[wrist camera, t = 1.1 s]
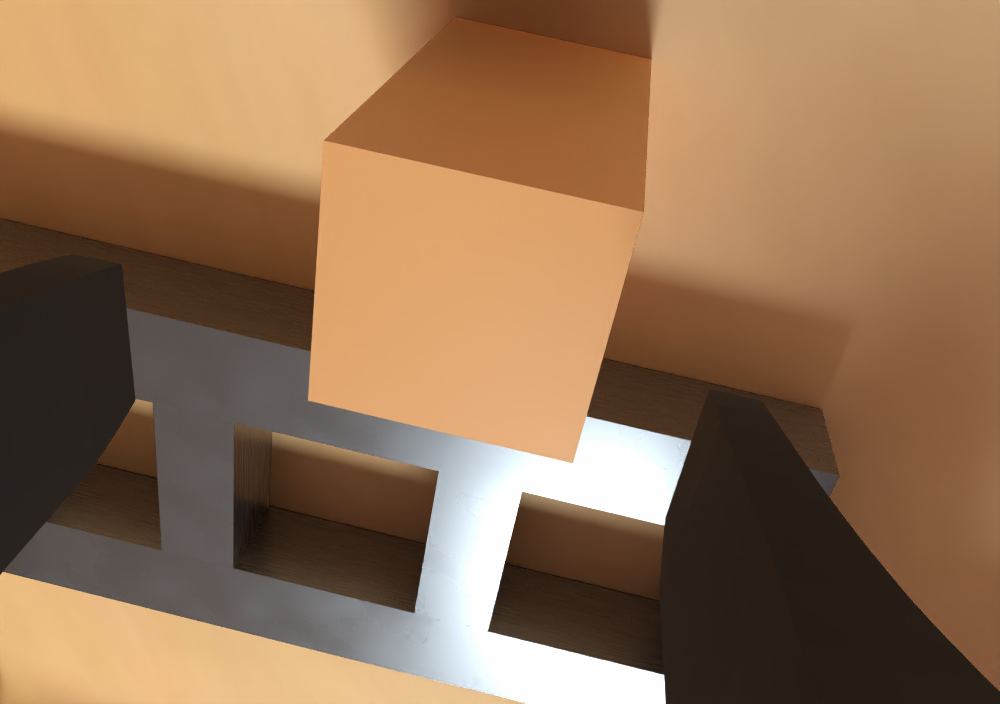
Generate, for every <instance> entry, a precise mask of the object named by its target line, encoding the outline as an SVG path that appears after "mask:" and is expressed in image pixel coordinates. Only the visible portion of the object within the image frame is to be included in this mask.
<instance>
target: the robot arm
mask: <svg viewBox="0 0 1000 704" xmlns="http://www.w3.org/2000/svg"><path fill="white" fill-rule="evenodd" d="M135 400H136V399H135V389H134V379H133V369H132V359H131V349H130V339H129V329H128V319H127V309H126V299H125V289H124V279H123V269H122V264H119V263H114V262H110V261H105V260H100V259H96V258H91V257H86V256H81V255H77V254H72V255H67V256H62V257H57V258H52V259H48V260H44V261H40V262H36V263H33V264H29V265H25V266H22V267H18V268H15V269H11V270H8V271H5V272H1V273H0V574H1V573H2V572H3V571H4V570H5V569H6V568H7V566H8V565H9V564H10V563H11V562H12V561H13V559H14V558H15V557H16V556H17V555H18V554H19V553H20V551H21V550H22V549H23V548H24V547H25V546H26V544H27V543H28V542H29V541H30V540H31V539H32V538H33V536H34V535H35V534H36V533H37V532H38V531H39V530H40V528H41V527H42V526H43V525H44V524H45V523H46V521H47V520H48V519H49V518H50V517H51V516H52V515H53V513H54V512H55V511H56V510H57V509H58V508H59V506H60V505H61V504H62V503H63V502H64V500H65V499H66V498H67V497H68V496H69V495H70V493H71V492H72V491H73V490H74V489H75V488H76V486H77V485H78V484H79V483H80V482H81V480H82V479H83V478H84V477H85V476H86V474H87V473H88V472H89V471H90V470H91V468H92V467H93V466H94V465H95V463H96V462H97V460H98V459H99V457H100V456H101V454H102V453H103V451H104V450H105V448H106V447H107V445H108V444H109V442H110V441H111V439H112V438H113V436H114V435H115V433H116V431H117V430H118V428H119V426H120V425H121V423H122V421H123V420H124V418H125V416H126V415H127V413H128V412H129V410H130V408H131V407H132V405H133V403H134V402H135ZM660 609H661V629H662V649H663V667H664V684H665V702H666V704H1000V691H998V690H997V689H996V688H995V687H994V686H993V685H992V684H991V683H990V682H989V681H988V680H987V679H986V678H985V677H984V676H983V675H982V674H981V673H980V672H979V671H978V670H977V669H976V668H975V667H974V666H973V665H972V664H971V663H970V662H969V661H968V660H967V659H966V658H965V656H964V655H963V654H962V653H961V652H960V651H959V650H958V649H957V648H956V647H955V646H954V645H953V644H952V643H951V642H950V641H949V640H948V639H947V638H946V637H945V636H944V635H943V634H942V633H941V632H940V631H939V630H938V629H937V628H936V627H935V626H934V624H933V623H932V622H931V621H930V620H929V619H928V618H927V617H926V616H925V615H924V613H923V612H922V611H921V610H920V609H919V608H918V607H917V606H916V605H915V604H914V602H913V601H912V600H911V599H910V598H909V597H908V596H907V594H906V593H905V592H904V591H903V590H902V588H901V587H900V586H899V585H898V584H897V582H896V581H895V580H894V579H893V578H892V576H891V575H890V574H889V573H888V572H887V571H886V569H885V568H884V567H883V566H882V565H881V563H880V562H879V561H878V560H877V559H876V557H875V556H874V555H873V554H872V553H871V551H870V550H869V549H868V548H867V546H866V545H865V544H864V542H863V541H862V540H861V539H860V537H859V536H858V535H857V533H856V532H855V531H854V530H853V528H852V527H851V526H850V524H849V523H848V522H847V521H846V519H845V518H844V517H843V515H842V514H841V513H840V511H839V510H838V509H837V507H836V506H835V504H834V503H833V502H832V500H831V499H830V498H829V496H828V495H827V494H826V492H825V491H824V489H823V488H822V487H821V485H820V484H819V482H818V481H817V480H816V478H815V477H814V475H813V474H812V473H811V471H810V470H809V468H808V467H807V465H806V464H805V462H804V461H803V460H802V458H801V457H800V455H799V454H798V452H797V451H796V449H795V448H794V446H793V445H792V444H791V442H790V441H789V439H788V438H787V436H786V435H785V433H784V432H783V430H782V429H781V427H780V426H779V424H778V423H777V422H776V420H775V419H774V417H773V416H772V414H771V413H770V411H769V410H768V409H767V407H766V406H765V404H764V403H763V402H762V400H759V399H754V398H749V397H745V396H740V395H735V394H730V393H726V392H721V391H716V390H712V389H709V391H708V394H707V397H706V400H705V403H704V406H703V408H702V411H701V414H700V417H699V420H698V423H697V426H696V429H695V432H694V435H693V438H692V441H691V444H690V447H689V449H688V452H687V455H686V458H685V461H684V464H683V467H682V470H681V473H680V476H679V479H678V482H677V485H676V488H675V491H674V493H673V496H672V499H671V502H670V505H669V508H668V511H667V514H666V517H665V528H664V540H663V552H662V565H661V581H660Z"/></svg>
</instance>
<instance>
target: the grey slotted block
mask: <svg viewBox="0 0 1000 704" xmlns="http://www.w3.org/2000/svg"><path fill="white" fill-rule="evenodd" d="M72 254H77V255H81V256H86V257H91V258H96V259H100V260H105V261H110V262H114V263H119V264H122V269H123V279H124V289H125V299H126V309H127V319H128V329H129V339H130V349H131V359H132V369H133V379H134V389H135V398H136V399H140V400H144V401H148V402H152V403H153V411H154V428H155V445H156V461H157V478H158V479H156V478H152V477H148V476H144V475H139V474H135V473H131V472H127V471H123V470H119V469H115V468H111V467H107V466H103V465H99V464H95V465H94V466H93V467H92V468H91V470H90V471H89V472H88V473H87V474H86V476H85V477H84V478H83V479H82V480H81V482H80V483H79V484H78V485H77V486H76V488H75V489H74V490H73V491H72V492H71V493H70V495H69V496H68V497H67V498H66V499H65V500H64V502H63V503H62V504H61V505H60V506H59V508H58V509H57V510H56V511H55V512H54V513H53V515H52V516H51V517H50V518H49V519H48V520H47V521H46V523H45V524H44V525H43V526H42V527H41V528H40V530H39V531H38V532H37V533H36V534H35V535H34V536H33V538H32V539H31V540H30V541H29V542H28V543H27V544H26V546H25V547H24V548H23V549H22V550H21V551H20V553H19V554H18V555H17V556H16V557H15V558H14V559H13V561H12V562H11V563H10V564H9V565H8V566H7V568H6V569H5V570H4V571H3V572H6V573H10V574H14V575H18V576H22V577H26V578H30V579H34V580H38V581H42V582H46V583H50V584H54V585H58V586H62V587H66V588H70V589H74V590H78V591H82V592H86V593H90V594H94V595H98V596H102V597H106V598H110V599H114V600H118V601H122V602H126V603H130V604H134V605H138V606H142V607H146V608H149V609H153V610H157V611H161V612H165V613H169V614H173V615H177V616H181V617H185V618H189V619H193V620H197V621H201V622H205V623H209V624H213V625H217V626H221V627H225V628H229V629H233V630H237V631H241V632H245V633H249V634H253V635H257V636H261V637H265V638H269V639H273V640H277V641H281V642H285V643H289V644H293V645H297V646H301V647H305V648H309V649H313V650H316V651H320V652H324V653H328V654H332V655H336V656H340V657H344V658H348V659H352V660H356V661H360V662H364V663H368V664H372V665H376V666H380V667H384V668H388V669H392V670H396V671H400V672H404V673H408V674H412V675H416V676H420V677H424V678H428V679H432V680H436V681H440V682H444V683H448V684H452V685H456V686H460V687H464V688H468V689H472V690H476V691H479V692H483V693H487V694H491V695H495V696H499V697H503V698H507V699H511V700H515V701H519V702H523V703H527V704H666V702H665V684H664V667H663V649H662V629H661V609H660V602H659V601H655V600H651V599H647V598H643V597H639V596H635V595H630V594H626V593H622V592H618V591H614V590H610V589H606V588H602V587H598V586H594V585H590V584H585V583H581V582H577V581H573V580H569V579H565V578H561V577H557V576H553V575H549V574H545V573H540V572H536V571H532V570H528V569H524V568H520V567H516V566H512V565H508V564H504V563H505V559H506V555H507V551H508V547H509V543H510V539H511V535H512V531H513V527H514V523H515V519H516V514H517V510H518V506H519V502H520V498H521V494H522V491H523V492H527V493H531V494H535V495H539V496H544V497H548V498H552V499H556V500H560V501H564V502H569V503H573V504H577V505H581V506H585V507H589V508H594V509H598V510H602V511H606V512H610V513H614V514H619V515H623V516H627V517H631V518H635V519H639V520H644V521H648V522H652V523H656V524H660V525H664V526H665V517H666V514H667V511H668V508H669V505H670V502H671V499H672V496H673V493H674V491H675V488H676V485H677V482H678V479H679V476H680V473H681V470H682V467H683V464H684V461H685V458H686V455H687V452H688V449H689V447H690V444H691V441H692V438H693V435H694V432H695V429H696V426H697V423H698V420H699V417H700V414H701V411H702V408H703V406H704V403H705V400H706V397H707V394H708V391H709V389H712V390H716V391H721V392H726V393H730V394H735V395H740V396H745V397H749V398H754V399H759V400H762V402H763V403H764V404H765V406H766V407H767V409H768V410H769V411H770V413H771V414H772V416H773V417H774V419H775V420H776V422H777V423H778V424H779V426H780V427H781V429H782V430H783V432H784V433H785V435H786V436H787V438H788V439H789V441H790V442H791V444H792V445H793V446H794V448H795V449H796V451H797V452H798V454H799V455H800V457H801V458H802V460H803V461H804V462H805V464H806V465H807V467H808V468H809V470H810V471H811V473H812V474H813V475H814V477H815V478H816V480H817V481H818V482H819V484H820V485H821V487H822V488H823V489H824V491H825V492H826V494H827V495H828V496H830V494H831V492H832V490H833V488H834V486H835V484H836V482H837V480H838V478H839V473H838V469H837V465H836V462H835V458H834V454H833V450H832V447H831V443H830V439H829V435H828V432H827V428H826V424H825V421H824V417H823V413H822V409H818V408H814V407H810V406H805V405H801V404H797V403H792V402H788V401H784V400H779V399H775V398H771V397H767V396H762V395H758V394H754V393H749V392H745V391H741V390H736V389H732V388H728V387H724V386H719V385H715V384H711V383H706V382H702V381H698V380H693V379H689V378H685V377H680V376H676V375H672V374H668V373H663V372H659V371H655V370H650V369H646V368H642V367H637V366H633V365H629V364H624V363H620V362H616V361H612V360H607V359H602V363H601V366H600V370H599V373H598V377H597V380H596V384H595V387H594V391H593V395H592V398H591V402H590V405H589V409H588V412H587V416H586V419H585V423H584V426H583V430H582V434H581V437H580V441H579V444H578V448H577V451H576V455H575V458H574V462H573V463H568V462H564V461H560V460H556V459H552V458H547V457H543V456H539V455H535V454H531V453H526V452H522V451H518V450H514V449H510V448H505V447H501V446H497V445H493V444H489V443H484V442H480V441H476V440H472V439H468V438H463V437H459V436H455V435H451V434H447V433H442V432H438V431H434V430H430V429H426V428H421V427H417V426H413V425H409V424H405V423H400V422H396V421H392V420H388V419H384V418H379V417H375V416H371V415H367V414H363V413H358V412H354V411H350V410H346V409H342V408H337V407H333V406H329V405H325V404H321V403H316V402H312V401H308V392H309V375H310V359H311V343H312V327H313V310H314V294H315V292H314V291H310V290H306V289H302V288H297V287H293V286H289V285H284V284H280V283H276V282H271V281H267V280H263V279H258V278H254V277H250V276H246V275H241V274H237V273H233V272H228V271H224V270H220V269H215V268H211V267H207V266H202V265H198V264H194V263H190V262H185V261H181V260H177V259H172V258H168V257H164V256H159V255H155V254H151V253H147V252H142V251H138V250H134V249H129V248H125V247H121V246H116V245H112V244H108V243H103V242H99V241H95V240H91V239H86V238H82V237H78V236H73V235H69V234H65V233H60V232H56V231H52V230H47V229H43V228H39V227H35V226H30V225H26V224H22V223H17V222H13V221H9V220H4V219H0V273H1V272H5V271H8V270H11V269H15V268H18V267H22V266H25V265H29V264H33V263H36V262H40V261H44V260H48V259H52V258H57V257H62V256H67V255H72ZM272 431H273V432H277V433H281V434H286V435H290V436H294V437H298V438H302V439H306V440H311V441H315V442H319V443H323V444H327V445H331V446H336V447H340V448H344V449H348V450H352V451H356V452H361V453H365V454H369V455H373V456H377V457H381V458H386V459H390V460H394V461H398V462H402V463H406V464H410V465H415V466H419V467H423V468H427V469H431V470H435V471H439V473H438V479H437V485H436V491H435V497H434V502H433V508H432V514H431V520H430V526H429V531H428V537H427V543H426V544H422V543H418V542H414V541H410V540H405V539H401V538H397V537H393V536H389V535H385V534H381V533H377V532H373V531H369V530H365V529H360V528H356V527H352V526H348V525H344V524H340V523H336V522H332V521H328V520H324V519H320V518H315V517H311V516H307V515H303V514H299V513H295V512H291V511H287V510H283V509H279V508H274V507H270V506H269V495H270V466H271V436H272Z"/></svg>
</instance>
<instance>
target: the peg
mask: <svg viewBox="0 0 1000 704" xmlns="http://www.w3.org/2000/svg"><path fill="white" fill-rule="evenodd" d="M650 77H651V59H648V58H643V57H639V56H634V55H629V54H625V53H620V52H615V51H611V50H606V49H602V48H597V47H592V46H588V45H583V44H578V43H574V42H569V41H564V40H560V39H555V38H551V37H546V36H541V35H537V34H532V33H527V32H523V31H518V30H513V29H509V28H504V27H500V26H495V25H490V24H486V23H481V22H476V21H472V20H467V19H462V18H458V17H455V18H454V19H453V20H452V21H451V22H450V23H449V24H448V25H447V26H446V27H444V28H443V29H442V30H441V31H440V32H439V33H438V34H437V35H436V36H435V37H434V38H433V39H432V40H431V41H430V42H428V43H427V44H426V45H425V46H424V47H423V48H422V49H421V50H420V51H419V52H418V53H417V54H416V55H415V56H414V57H412V58H411V59H410V60H409V61H408V62H407V63H406V64H405V65H404V66H403V67H402V68H401V69H400V70H399V71H398V72H396V73H395V74H394V75H393V76H392V77H391V78H390V79H389V80H388V81H387V82H386V83H385V84H384V85H383V86H382V87H380V88H379V89H378V90H377V91H376V92H375V93H374V94H373V95H372V96H371V97H370V98H369V99H368V100H367V101H366V102H364V103H363V104H362V105H361V106H360V107H359V108H358V109H357V110H356V111H355V112H354V113H353V114H352V115H351V116H350V117H349V118H347V119H346V120H345V121H344V122H343V123H342V124H341V125H340V126H339V127H338V128H337V129H336V130H335V131H334V132H333V133H331V134H330V135H329V136H328V137H327V138H326V139H325V140H324V147H323V163H322V180H321V196H320V212H319V229H318V245H317V261H316V278H315V294H314V310H313V327H312V343H311V359H310V375H309V392H308V401H312V402H316V403H321V404H325V405H329V406H333V407H337V408H342V409H346V410H350V411H354V412H358V413H363V414H367V415H371V416H375V417H379V418H384V419H388V420H392V421H396V422H400V423H405V424H409V425H413V426H417V427H421V428H426V429H430V430H434V431H438V432H442V433H447V434H451V435H455V436H459V437H463V438H468V439H472V440H476V441H480V442H484V443H489V444H493V445H497V446H501V447H505V448H510V449H514V450H518V451H522V452H526V453H531V454H535V455H539V456H543V457H547V458H552V459H556V460H560V461H564V462H568V463H573V462H574V458H575V455H576V451H577V448H578V444H579V441H580V437H581V434H582V430H583V426H584V423H585V419H586V416H587V412H588V409H589V405H590V402H591V398H592V395H593V391H594V387H595V384H596V380H597V377H598V373H599V370H600V366H601V363H602V359H603V355H604V352H605V348H606V345H607V341H608V338H609V334H610V331H611V327H612V323H613V320H614V316H615V313H616V309H617V306H618V302H619V299H620V295H621V292H622V288H623V284H624V281H625V277H626V274H627V270H628V267H629V263H630V260H631V256H632V252H633V249H634V245H635V242H636V238H637V235H638V231H639V228H640V224H641V220H642V217H643V213H644V199H645V178H646V158H647V138H648V118H649V98H650Z"/></svg>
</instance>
